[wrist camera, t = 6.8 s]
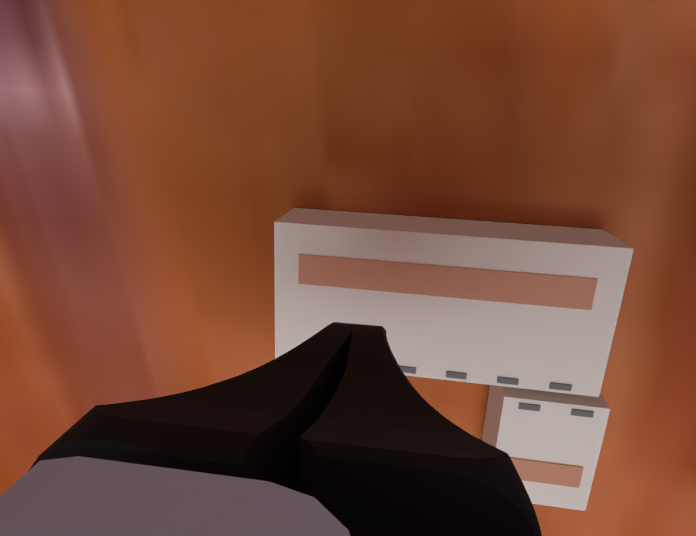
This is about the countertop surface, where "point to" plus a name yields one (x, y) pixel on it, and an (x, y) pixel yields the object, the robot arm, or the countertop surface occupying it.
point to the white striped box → (456, 294)
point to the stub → (548, 441)
